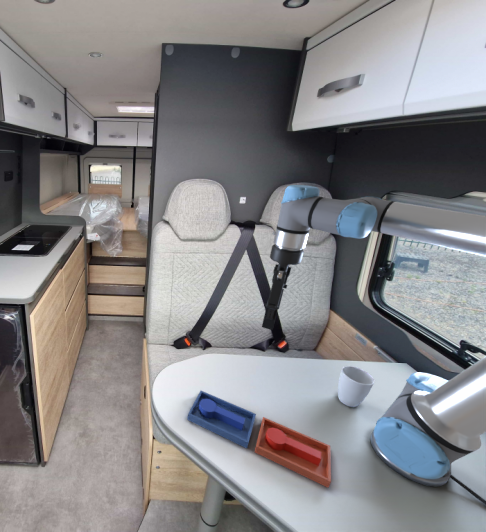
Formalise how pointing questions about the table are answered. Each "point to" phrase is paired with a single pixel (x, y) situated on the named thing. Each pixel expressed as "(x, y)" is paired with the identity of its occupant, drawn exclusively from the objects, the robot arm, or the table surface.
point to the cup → (354, 385)
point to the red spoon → (291, 446)
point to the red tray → (292, 461)
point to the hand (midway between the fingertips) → (270, 317)
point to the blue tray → (220, 427)
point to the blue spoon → (220, 414)
